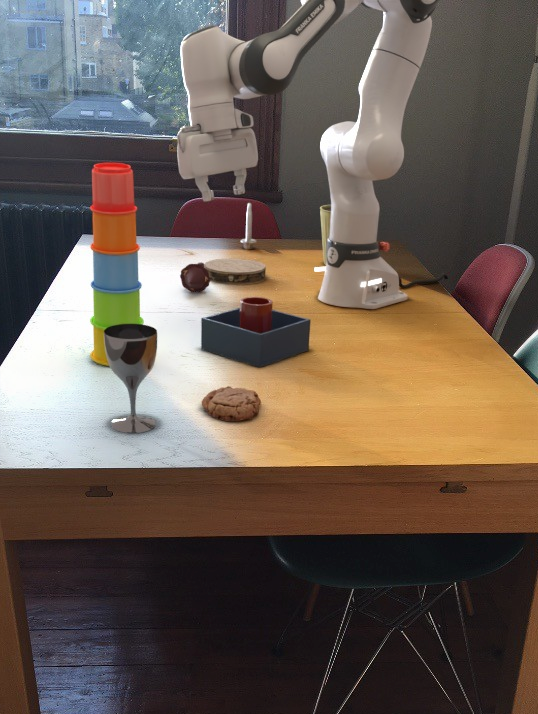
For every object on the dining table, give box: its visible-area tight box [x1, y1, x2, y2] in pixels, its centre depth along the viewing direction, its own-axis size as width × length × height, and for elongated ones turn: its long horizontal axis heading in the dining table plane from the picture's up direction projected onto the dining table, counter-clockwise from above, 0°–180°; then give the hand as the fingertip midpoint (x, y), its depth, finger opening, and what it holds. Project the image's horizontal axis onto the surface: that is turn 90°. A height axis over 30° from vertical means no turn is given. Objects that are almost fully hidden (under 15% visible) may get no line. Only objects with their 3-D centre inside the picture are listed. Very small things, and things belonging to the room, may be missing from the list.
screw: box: [239, 202, 258, 250], centre depth 257 cm, size 13×5×5 cm
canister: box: [239, 296, 274, 334], centre depth 171 cm, size 6×6×9 cm
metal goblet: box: [104, 324, 158, 434], centre depth 135 cm, size 8×8×15 cm
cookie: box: [201, 385, 262, 422], centre depth 144 cm, size 10×11×3 cm
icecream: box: [179, 262, 211, 293], centre depth 211 cm, size 7×7×15 cm
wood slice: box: [204, 258, 267, 285], centre depth 227 cm, size 16×16×3 cm
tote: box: [200, 307, 312, 368], centre depth 172 cm, size 15×15×6 cm
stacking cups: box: [89, 162, 145, 367], centre depth 158 cm, size 10×10×35 cm
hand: (224, 197), depth 175 cm, fingers open, 8 cm apart
